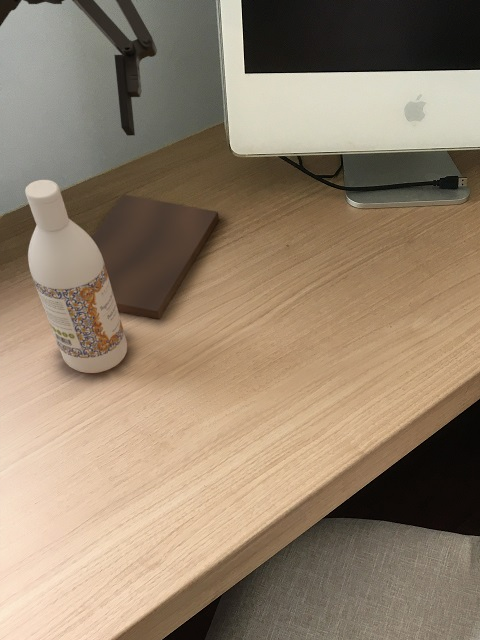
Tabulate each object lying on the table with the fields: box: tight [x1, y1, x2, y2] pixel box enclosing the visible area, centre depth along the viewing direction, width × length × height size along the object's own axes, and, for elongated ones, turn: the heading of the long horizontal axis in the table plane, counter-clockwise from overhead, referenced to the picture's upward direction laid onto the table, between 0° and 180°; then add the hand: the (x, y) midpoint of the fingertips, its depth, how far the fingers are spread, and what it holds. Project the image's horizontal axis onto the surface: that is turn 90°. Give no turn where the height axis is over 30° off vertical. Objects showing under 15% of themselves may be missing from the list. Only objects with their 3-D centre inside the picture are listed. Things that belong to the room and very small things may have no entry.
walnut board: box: [90, 194, 220, 320], centre depth 96 cm, size 13×20×1 cm, turn 167°
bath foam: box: [24, 179, 128, 374], centre depth 78 cm, size 7×7×20 cm
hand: (57, 133), depth 77 cm, fingers open, 13 cm apart
